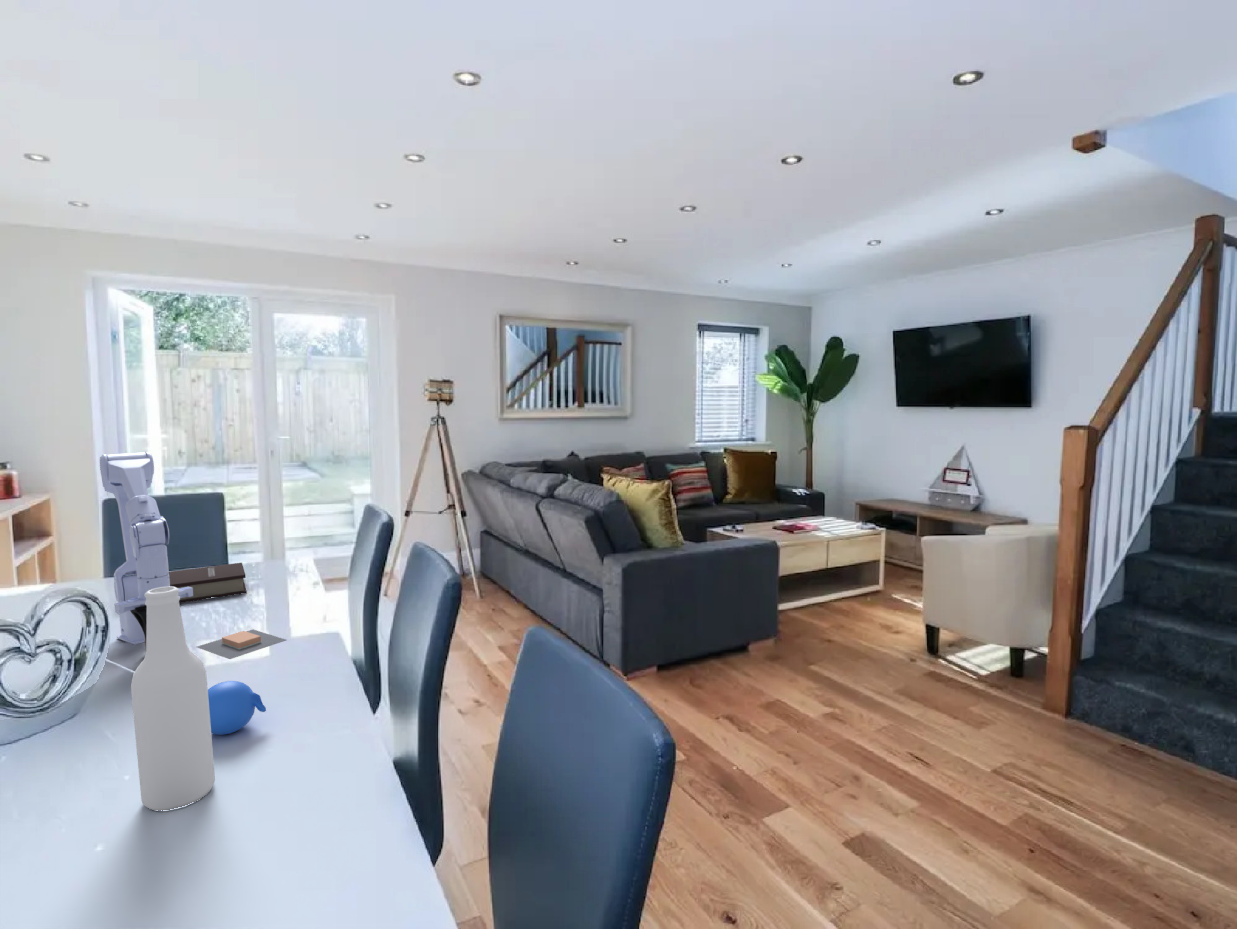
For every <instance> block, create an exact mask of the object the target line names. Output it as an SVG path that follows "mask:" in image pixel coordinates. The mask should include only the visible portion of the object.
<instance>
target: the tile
mask: <svg viewBox="0 0 1237 929" xmlns="http://www.w3.org/2000/svg"><path fill="white" fill-rule="evenodd" d="M246 631H247V630H246ZM246 631H245V630H242V631H238V632H235V633H232V634H229V635H226V636H225V635H224V636H222V637H221V639H222V644H224V645H227V646H230V647H233V648H236V649H239V650H240V649H243V648H246V647H249V646H252V645H255V644H258V643H261V636H259V635H255V634H252V633H249V632H246Z"/></svg>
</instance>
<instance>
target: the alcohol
mask: <svg viewBox="0 0 1237 929" xmlns="http://www.w3.org/2000/svg"><path fill="white" fill-rule="evenodd" d="M178 592H179V589H178V588H176V587H172V586H169V587H160V588H155V589H151V590H149V591H147V592H146V593H145V594H144V596H145V597H146V601H145V605H146V606H147V631H146V646H145V655H144V657H143V658H144V659H143V660H142V661H141V662H140V664H138V666H137V668H136V669H135V671H134V672H133V675H132V678H131V685H130V692H131V693H130V694H131V703H132V704H131V706H132V715H133V726H134V735H135V746H136V756H137V767H138V768H137V769H138V778H139V780H138V781H139V788H140V791H139V792H140V800H141V803H142V805H144V807H146V808H147V809H148V808H149V809H148V810H150V809H152V810H158V811H161V810H162V811H163V810H170V809H174V808H178V807H182V806H185V805H188V804H190V803H192V802H195V801H197V800H199V799H201V798H202V797H203V798H205V797H206V796H207V795H208V794H209V793H210V791H211V790H212V788H213V786H214V785H215V782H216V775H215V763H214V749H213V740H212V739H213V736H212V733H211V723H210V711H209V699H208V689H209V688H208V678H207V669H206V667H205V664H204V662H203V659H201V658H200V656H198V655H197V654H195V653H194V652H193V651H191V649H190V648H189V646H188V644H187V640H186V632H185V626H184V622H183V618H182V617H183V616H182V611H181V610H182V609H181V607H180V604H179V600H180V596H178ZM208 792H209V793H208ZM206 794H207V795H206ZM205 795H206V796H205ZM204 796H205V797H204ZM203 798H202V799H203ZM202 799H201V800H202ZM199 801H200V800H199ZM197 802H198V801H197ZM195 803H196V802H195ZM152 810H151V811H152Z"/></svg>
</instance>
